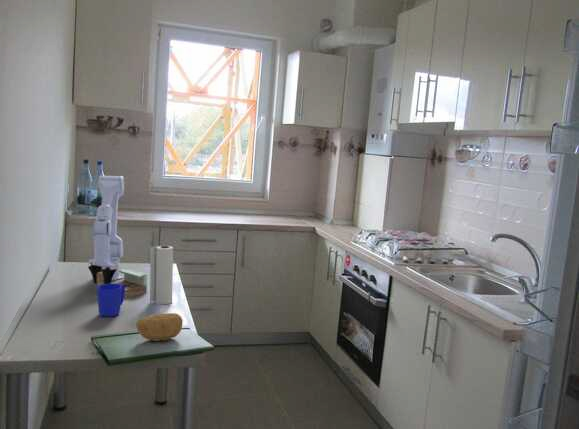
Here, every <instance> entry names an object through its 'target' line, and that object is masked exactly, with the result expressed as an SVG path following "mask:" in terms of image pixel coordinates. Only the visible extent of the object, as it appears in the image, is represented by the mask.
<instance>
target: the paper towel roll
mask: <svg viewBox="0 0 579 429" xmlns="http://www.w3.org/2000/svg"><path fill="white" fill-rule="evenodd" d="M173 265H174V247H173V246H171V245H160V246H159V245H157V246H151V247H150V266H149V267H150V268H149V269H150V270H149V273H150V274H149V276H150V277H149V278H150V280H149V302H150V303H153V302H155V303H156V304H158V305H170V304H172V303H173V283H174V282H173V276H174V275H173V273H174V272H173V271H174V270H173V269H174V268H173V267H174V266H173Z"/></svg>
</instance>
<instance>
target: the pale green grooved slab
mask: <svg viewBox="0 0 579 429" xmlns="http://www.w3.org/2000/svg"><path fill="white" fill-rule="evenodd" d="M120 273H121V274H123V277H124V278H123V280H125V281H129V282H132V283H135V284H139V285H142V286H145V285H148V283H147V280H148V278H147V277H148V275H147V273H144V272H141V271H137V270H134V269H133V270H132V269H128V268H124V269H119V274H120ZM147 287H148V286H146V288H147ZM144 288H145V287H144Z"/></svg>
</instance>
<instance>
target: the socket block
mask: <svg viewBox="0 0 579 429" xmlns="http://www.w3.org/2000/svg"><path fill="white" fill-rule="evenodd" d="M111 283H112V284H125V293H124V299H127V298H131V297H134V296H138V295H143V294H147V290H148V289H147V288H146V286H147V285H148V284H147V285H145V286H142V285H139V284H135V283H132V282H129V281H125V280H124V279H122V280H120V281H118V280H117V281H114V282H111ZM144 287H145V288H144ZM147 287H148V286H147Z"/></svg>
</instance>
